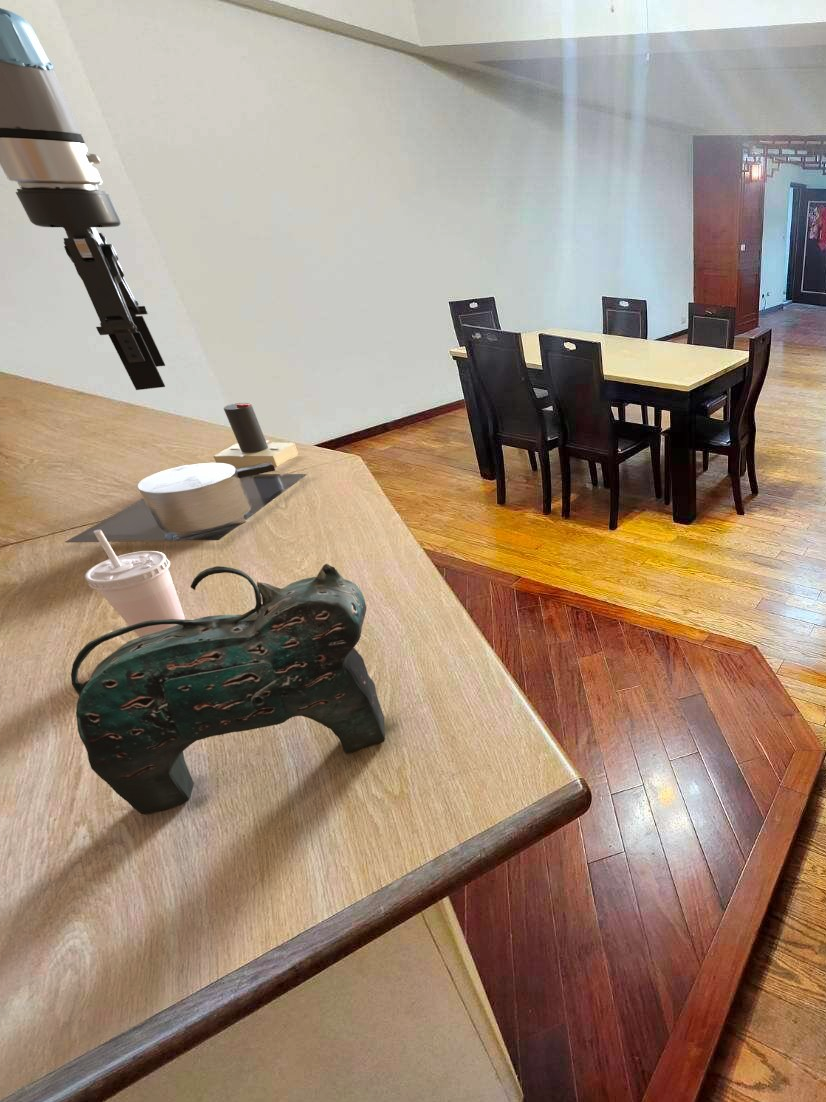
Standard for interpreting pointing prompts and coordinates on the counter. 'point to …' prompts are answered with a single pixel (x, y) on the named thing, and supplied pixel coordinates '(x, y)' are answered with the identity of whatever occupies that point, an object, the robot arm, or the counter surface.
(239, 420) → the dark grey cylinder
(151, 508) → the saucepan
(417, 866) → the counter surface
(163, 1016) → the counter surface
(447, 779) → the counter surface
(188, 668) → the ceramic cat
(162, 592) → the smoothie
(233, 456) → the cream base block
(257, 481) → the hob
